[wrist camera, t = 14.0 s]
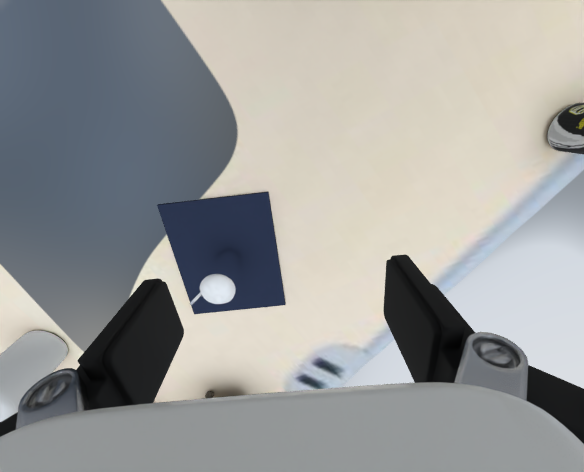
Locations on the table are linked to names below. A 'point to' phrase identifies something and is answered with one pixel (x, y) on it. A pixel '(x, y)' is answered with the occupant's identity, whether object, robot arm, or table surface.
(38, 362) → the pill bottle
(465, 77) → the table surface
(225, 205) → the mouse pad
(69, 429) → the robot arm
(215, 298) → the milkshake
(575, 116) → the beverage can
